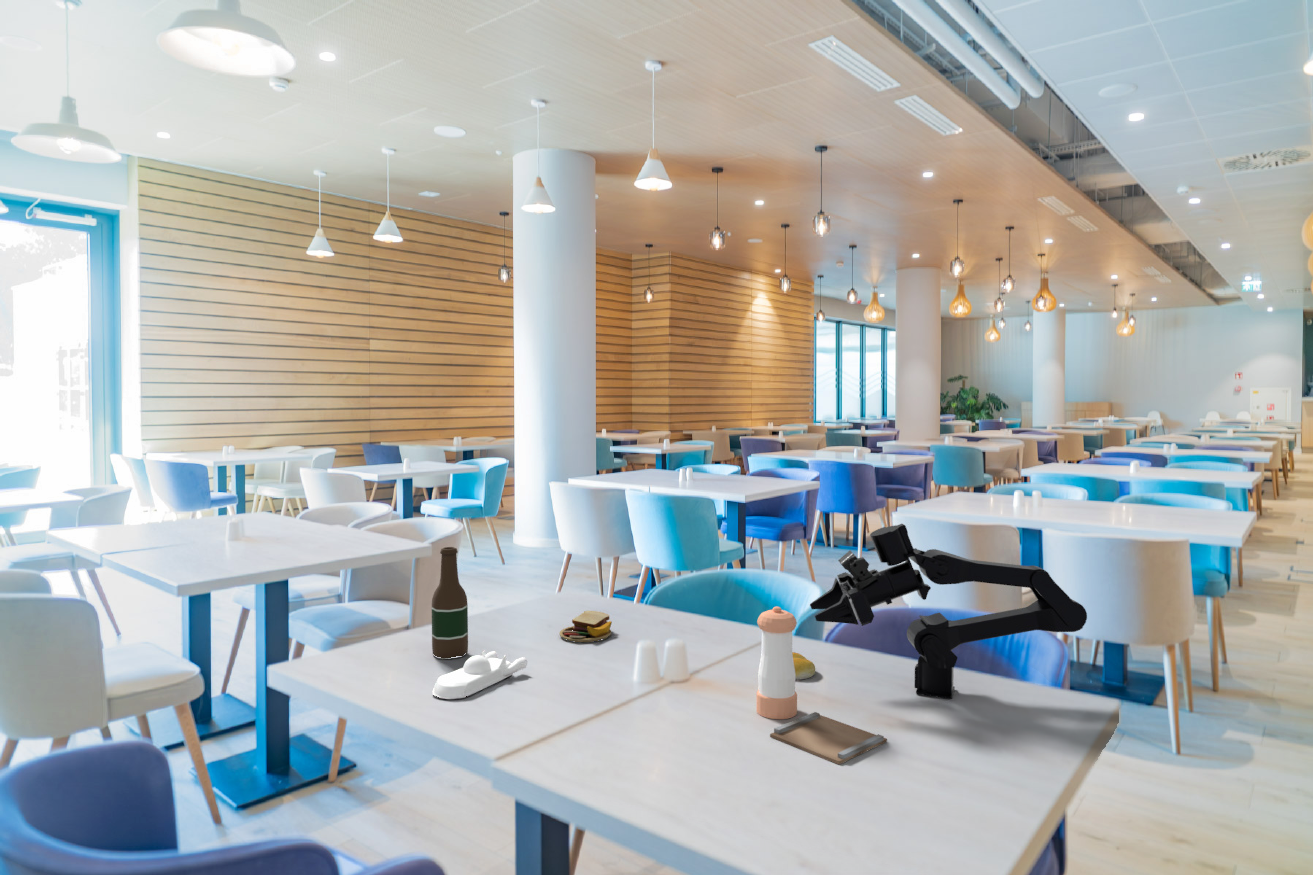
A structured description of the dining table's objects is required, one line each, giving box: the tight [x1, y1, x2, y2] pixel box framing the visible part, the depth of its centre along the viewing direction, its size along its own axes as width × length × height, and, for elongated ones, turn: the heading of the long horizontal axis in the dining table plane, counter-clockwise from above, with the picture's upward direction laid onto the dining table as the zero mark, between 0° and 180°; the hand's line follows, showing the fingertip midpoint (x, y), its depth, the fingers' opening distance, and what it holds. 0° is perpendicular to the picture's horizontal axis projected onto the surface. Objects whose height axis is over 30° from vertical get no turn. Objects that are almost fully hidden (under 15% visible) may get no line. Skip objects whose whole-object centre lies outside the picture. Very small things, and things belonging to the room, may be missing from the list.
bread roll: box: [792, 651, 816, 680], centre depth 169 cm, size 8×9×4 cm
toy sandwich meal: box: [559, 610, 613, 643], centre depth 197 cm, size 12×14×5 cm
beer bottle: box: [431, 546, 469, 658], centre depth 182 cm, size 8×8×24 cm
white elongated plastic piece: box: [432, 650, 528, 700], centre depth 163 cm, size 10×20×6 cm, turn 149°
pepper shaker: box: [755, 606, 798, 720], centre depth 147 cm, size 7×7×19 cm
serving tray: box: [769, 711, 888, 765], centre depth 136 cm, size 13×14×1 cm
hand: (813, 612), depth 159 cm, fingers open, 9 cm apart
